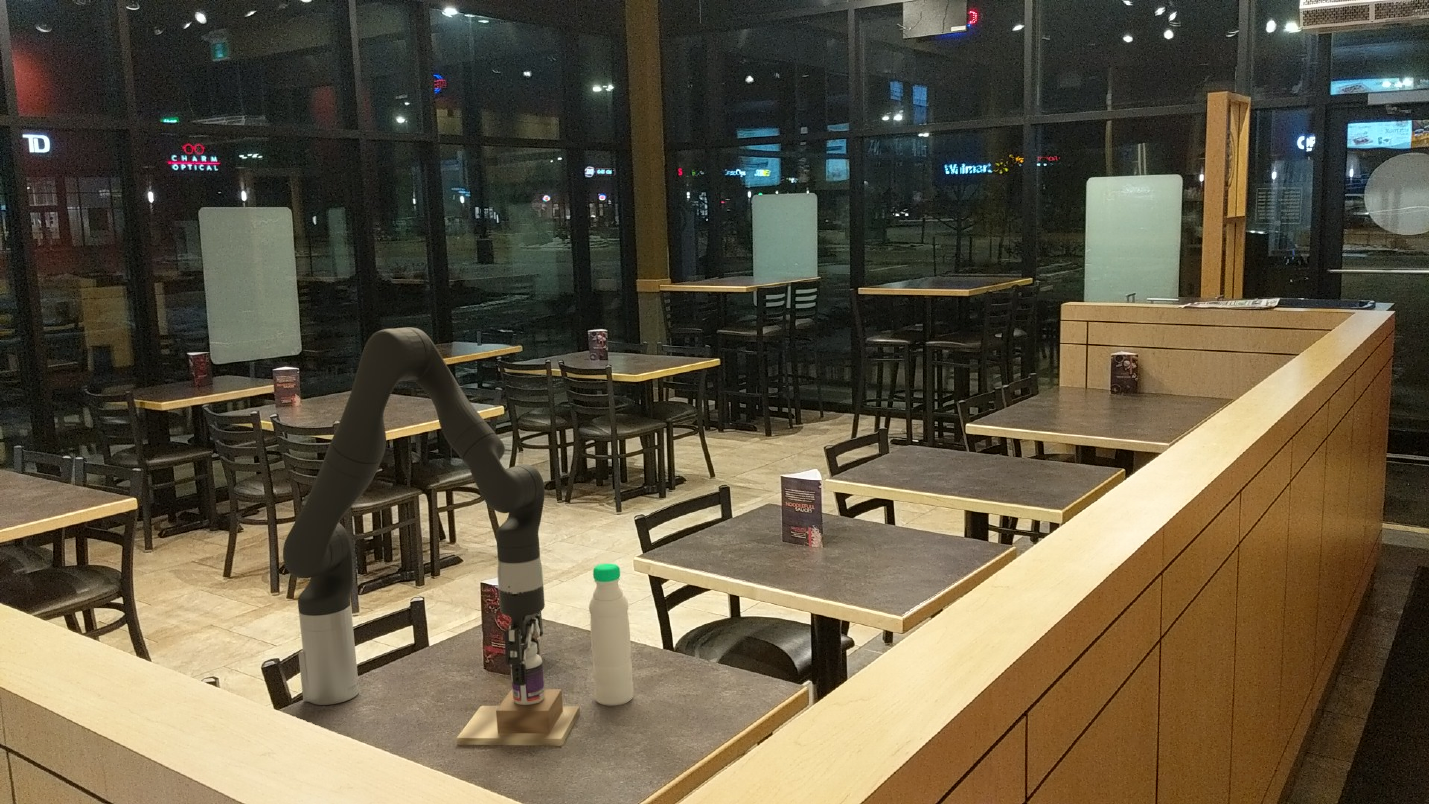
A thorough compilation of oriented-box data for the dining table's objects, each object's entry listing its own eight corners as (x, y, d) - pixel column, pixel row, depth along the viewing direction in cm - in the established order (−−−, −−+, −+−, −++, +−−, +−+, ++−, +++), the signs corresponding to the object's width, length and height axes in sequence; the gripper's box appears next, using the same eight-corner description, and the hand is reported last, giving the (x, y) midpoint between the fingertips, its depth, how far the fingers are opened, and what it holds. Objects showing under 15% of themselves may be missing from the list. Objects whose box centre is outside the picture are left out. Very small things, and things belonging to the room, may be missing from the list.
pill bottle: (548, 693, 200) (544, 639, 199) (540, 706, 195) (536, 651, 194) (517, 693, 201) (513, 639, 199) (509, 706, 196) (505, 651, 194)
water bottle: (587, 703, 208) (578, 569, 204) (608, 689, 214) (600, 558, 210) (620, 709, 205) (612, 573, 201) (641, 694, 211) (633, 562, 207)
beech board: (457, 744, 194) (456, 737, 193) (481, 712, 206) (480, 705, 206) (561, 745, 191) (561, 738, 191) (579, 712, 204) (579, 706, 204)
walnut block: (497, 733, 195) (495, 710, 194) (513, 710, 203) (511, 689, 203) (549, 733, 193) (548, 710, 193) (562, 711, 202) (561, 689, 202)
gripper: (511, 570, 202) (517, 659, 205) (486, 597, 188) (492, 691, 191) (553, 570, 201) (558, 659, 204) (530, 597, 187) (537, 691, 190)
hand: (526, 674), depth 197 cm, fingers open, 8 cm apart
